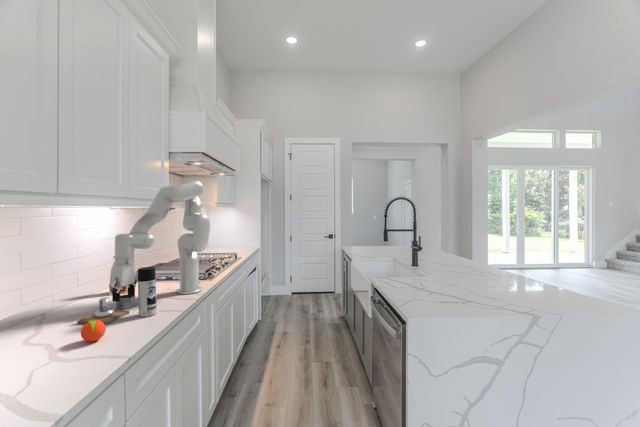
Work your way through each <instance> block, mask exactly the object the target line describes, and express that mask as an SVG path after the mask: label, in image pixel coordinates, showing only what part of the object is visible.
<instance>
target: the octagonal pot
mask: <svg viewBox="0 0 640 427" xmlns="http://www.w3.org/2000/svg"><path fill="white" fill-rule="evenodd" d="M135 307H136V294H135V295H134V294H128V293H126V294H120V301H119V302H115V309H116V310H126V311H128V310H130V309H133V308H135Z"/></svg>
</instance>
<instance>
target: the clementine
mask: <svg viewBox="0 0 640 427" xmlns="http://www.w3.org/2000/svg"><path fill="white" fill-rule="evenodd" d="M106 331H107V328H106V325H104V323H103V322H101V321H99V320H93V321H90V322H88V323H86V324H83V327H82V328H81V330H80V337H81V338H82V339H83V340H84V341H86V342H87V343H89V342H90V343H91V342H97V341H99V340H100V339H101V338H103V336H104V335H105V333H106Z"/></svg>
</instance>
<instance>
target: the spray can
mask: <svg viewBox="0 0 640 427" xmlns="http://www.w3.org/2000/svg"><path fill="white" fill-rule="evenodd" d="M137 276H138V279H137V296H138V297H137V300H138V302H137V303H138V306H137V307H138V316H139V317H140V318H147V317H152V316H155V315H156V314H157V288H156V287H157V284H156V283H157V282H156V281H157V277H156V267H154V266H144V267H139V268H138V269H137Z"/></svg>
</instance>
